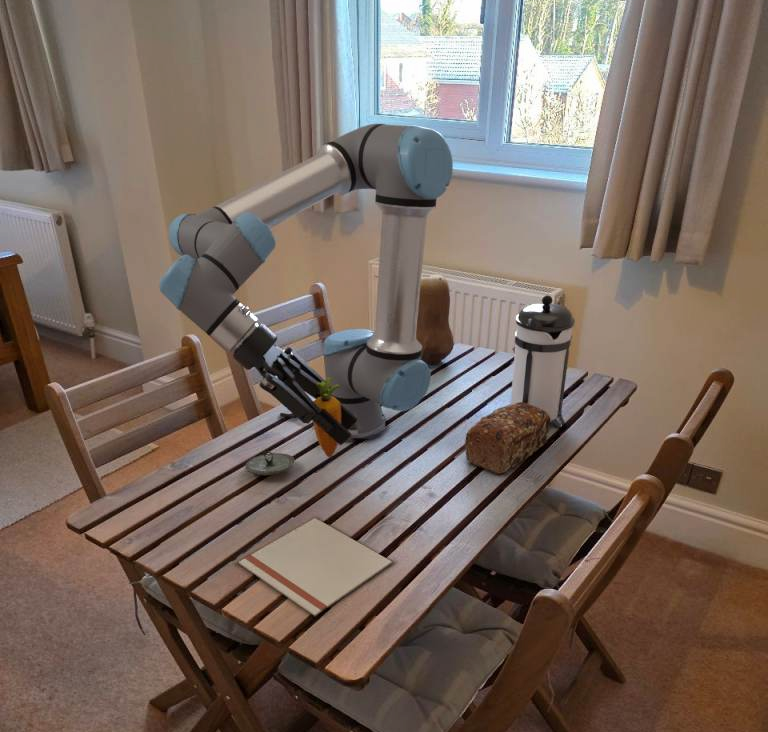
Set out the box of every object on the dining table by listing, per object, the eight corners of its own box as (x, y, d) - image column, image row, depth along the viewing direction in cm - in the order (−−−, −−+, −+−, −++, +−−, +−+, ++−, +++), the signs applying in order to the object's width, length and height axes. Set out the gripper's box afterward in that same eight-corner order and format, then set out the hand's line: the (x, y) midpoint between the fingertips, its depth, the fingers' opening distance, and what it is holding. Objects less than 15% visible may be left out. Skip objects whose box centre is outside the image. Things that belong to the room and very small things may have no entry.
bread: (502, 478, 144) (505, 435, 138) (461, 461, 150) (463, 420, 145) (550, 445, 155) (555, 405, 150) (510, 430, 161) (513, 391, 156)
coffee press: (579, 415, 167) (597, 292, 152) (545, 439, 157) (560, 310, 142) (518, 396, 177) (529, 279, 162) (482, 417, 167) (490, 295, 152)
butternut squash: (429, 350, 206) (431, 265, 193) (462, 362, 197) (465, 274, 184) (394, 362, 198) (393, 275, 185) (426, 376, 190) (427, 285, 176)
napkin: (238, 563, 121) (238, 561, 121) (315, 519, 132) (315, 517, 132) (315, 616, 110) (314, 614, 109) (391, 563, 121) (391, 561, 120)
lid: (267, 493, 143) (270, 474, 140) (234, 469, 147) (236, 450, 144) (302, 473, 151) (305, 455, 148) (269, 450, 154) (272, 432, 151)
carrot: (329, 447, 126) (323, 370, 118) (349, 455, 123) (345, 377, 115) (310, 458, 123) (303, 380, 115) (330, 467, 120) (324, 387, 112)
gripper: (241, 342, 104) (354, 444, 110) (274, 305, 119) (372, 396, 125) (213, 374, 107) (323, 470, 114) (249, 334, 122) (345, 421, 129)
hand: (349, 431), depth 120 cm, fingers closed on carrot, 5 cm apart
